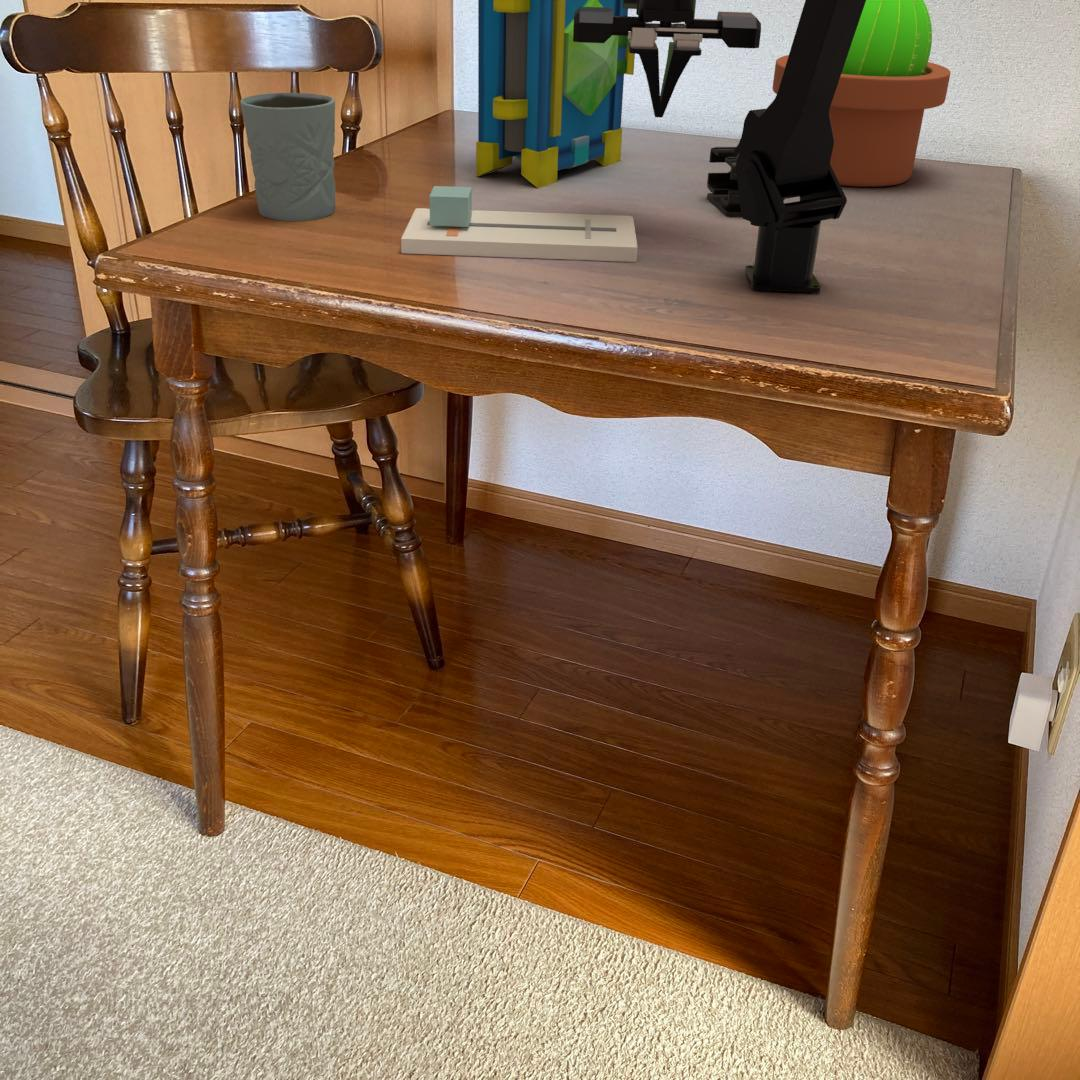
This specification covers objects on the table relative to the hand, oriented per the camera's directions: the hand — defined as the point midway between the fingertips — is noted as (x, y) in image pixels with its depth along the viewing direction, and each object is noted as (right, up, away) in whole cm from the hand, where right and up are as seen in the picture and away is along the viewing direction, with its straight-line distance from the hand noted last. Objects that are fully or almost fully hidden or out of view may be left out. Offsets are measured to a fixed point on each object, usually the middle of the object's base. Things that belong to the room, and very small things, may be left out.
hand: (658, 116), depth 119 cm
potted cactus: (+29, +5, +33) cm, 44 cm away
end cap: (+12, -5, +16) cm, 21 cm away
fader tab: (-22, -11, 0) cm, 25 cm away
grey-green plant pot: (-40, -7, +9) cm, 42 cm away
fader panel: (-14, -13, +1) cm, 19 cm away
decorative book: (-11, +4, +30) cm, 33 cm away
